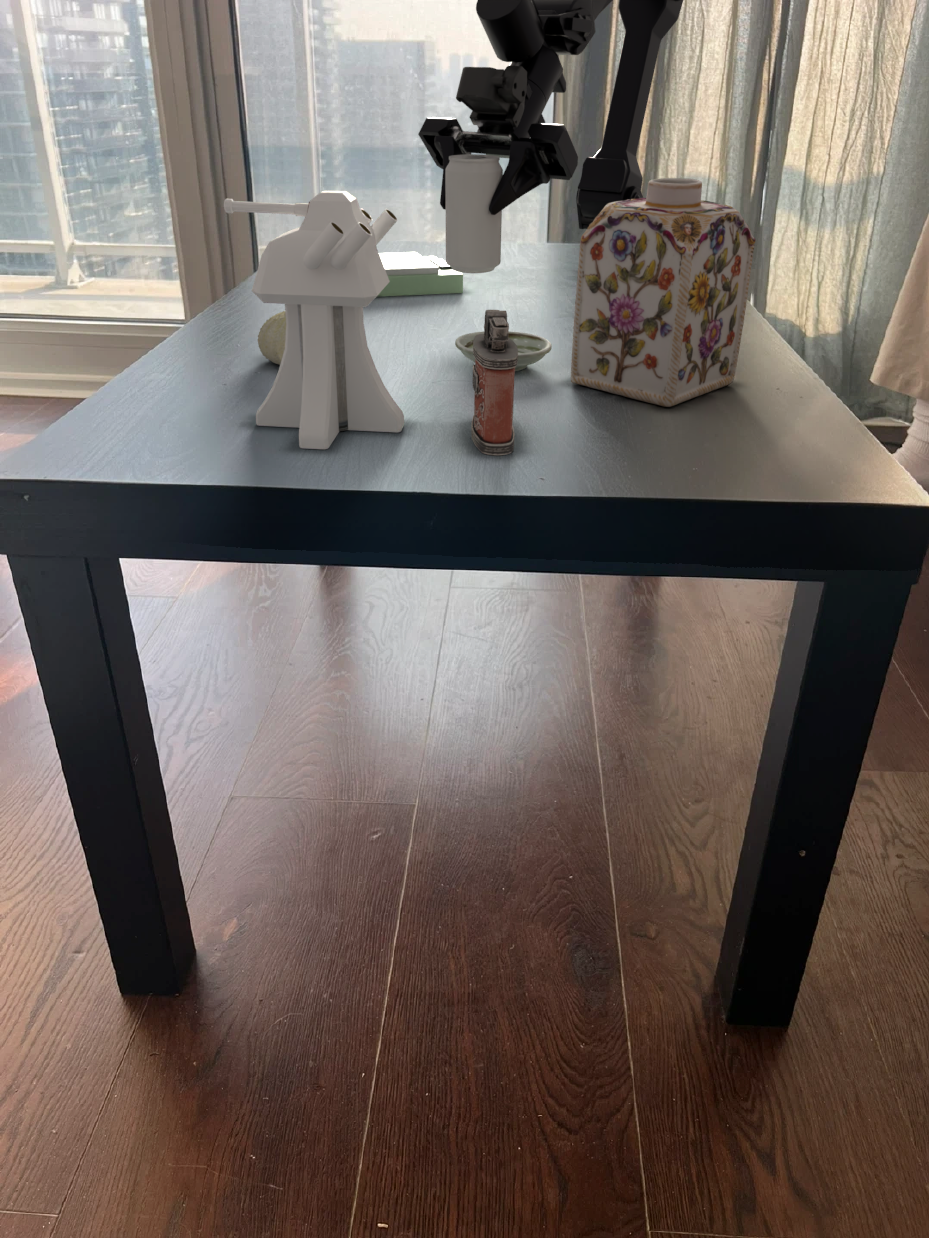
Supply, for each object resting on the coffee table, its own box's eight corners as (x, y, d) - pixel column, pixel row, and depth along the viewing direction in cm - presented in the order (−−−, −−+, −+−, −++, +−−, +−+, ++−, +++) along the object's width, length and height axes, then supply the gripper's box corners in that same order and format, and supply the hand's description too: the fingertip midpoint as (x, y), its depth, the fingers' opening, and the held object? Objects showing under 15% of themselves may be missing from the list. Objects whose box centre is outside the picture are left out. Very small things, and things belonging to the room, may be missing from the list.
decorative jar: (737, 385, 94) (769, 181, 85) (671, 411, 87) (698, 190, 78) (634, 361, 101) (653, 170, 92) (564, 383, 94) (578, 178, 85)
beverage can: (504, 265, 116) (507, 154, 110) (494, 276, 111) (497, 159, 105) (452, 262, 117) (452, 152, 111) (439, 273, 112) (439, 157, 106)
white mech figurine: (265, 399, 88) (247, 180, 79) (413, 406, 86) (410, 185, 78) (224, 444, 77) (196, 198, 68) (390, 452, 76) (384, 203, 67)
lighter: (467, 422, 83) (469, 301, 78) (506, 422, 83) (511, 301, 78) (476, 455, 76) (479, 324, 71) (519, 455, 76) (525, 324, 71)
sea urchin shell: (368, 332, 101) (342, 286, 94) (347, 400, 100) (320, 358, 92) (289, 324, 104) (258, 278, 97) (268, 390, 102) (234, 348, 95)
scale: (434, 273, 141) (434, 250, 139) (462, 293, 129) (463, 267, 128) (324, 277, 137) (323, 253, 135) (343, 298, 125) (342, 272, 124)
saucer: (534, 383, 93) (536, 358, 92) (440, 372, 96) (440, 347, 95) (561, 359, 101) (563, 335, 100) (473, 349, 104) (474, 326, 103)
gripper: (427, 36, 110) (367, 152, 107) (572, 37, 100) (510, 163, 98) (466, 112, 119) (413, 220, 117) (602, 119, 110) (546, 236, 108)
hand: (466, 209), depth 110 cm, fingers closed on beverage can, 6 cm apart
